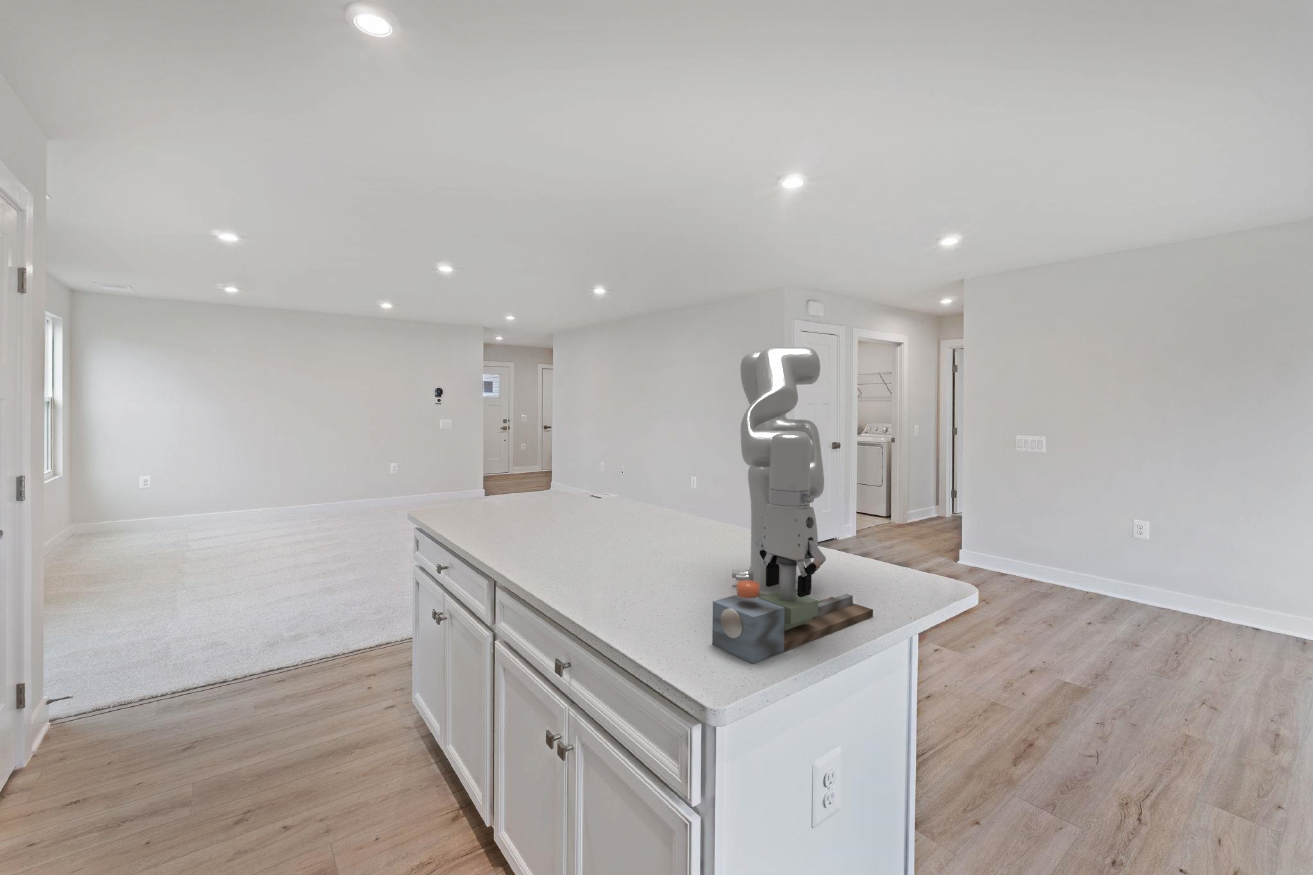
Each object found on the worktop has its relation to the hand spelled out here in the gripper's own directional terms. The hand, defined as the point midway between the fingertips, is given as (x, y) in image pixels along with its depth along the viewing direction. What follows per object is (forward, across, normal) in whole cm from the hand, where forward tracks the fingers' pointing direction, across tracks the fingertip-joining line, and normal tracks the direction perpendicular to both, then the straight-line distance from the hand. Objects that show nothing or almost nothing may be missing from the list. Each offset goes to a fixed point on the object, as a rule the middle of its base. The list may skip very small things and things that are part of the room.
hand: (787, 589), depth 109 cm
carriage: (+6, 0, 0) cm, 6 cm away
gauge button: (-1, 0, +11) cm, 11 cm away
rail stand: (+9, 0, -3) cm, 9 cm away
